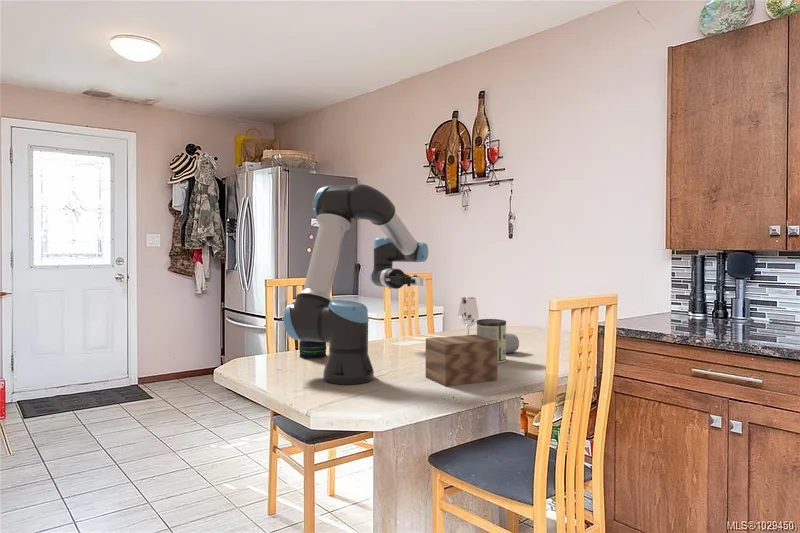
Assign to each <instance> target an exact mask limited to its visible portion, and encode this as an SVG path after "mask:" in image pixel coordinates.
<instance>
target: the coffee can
mask: <svg viewBox="0 0 800 533" xmlns="http://www.w3.org/2000/svg"><path fill="white" fill-rule="evenodd" d="M506 333H507V320H505V319H498V318H497V319H496V318H484V319H483V318H481V319H478V320H477V322H476V335H479V336H483V337H487V338H491V339H494V340H498V359H497V364H503V363H505V362H507V358H506V357H507V353H506Z"/></svg>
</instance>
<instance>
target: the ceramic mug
mask: <svg viewBox="0 0 800 533" xmlns="http://www.w3.org/2000/svg"><path fill="white" fill-rule="evenodd" d="M519 347H520V341H519V338H518V336H517V335H516V334H515V333H514V334H513V333H511V332H510V333H508V332H506V354H510V353H514V352H516V351H517V350H518V349H519Z"/></svg>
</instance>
